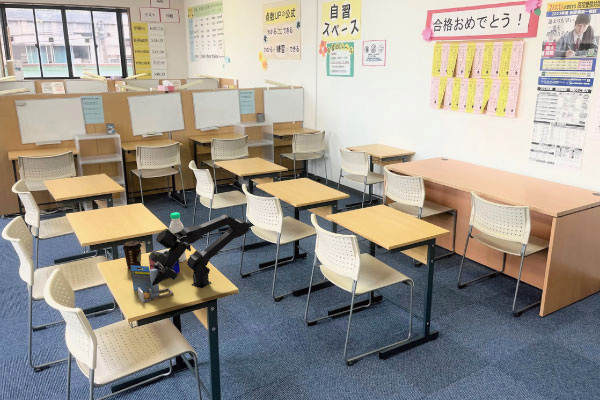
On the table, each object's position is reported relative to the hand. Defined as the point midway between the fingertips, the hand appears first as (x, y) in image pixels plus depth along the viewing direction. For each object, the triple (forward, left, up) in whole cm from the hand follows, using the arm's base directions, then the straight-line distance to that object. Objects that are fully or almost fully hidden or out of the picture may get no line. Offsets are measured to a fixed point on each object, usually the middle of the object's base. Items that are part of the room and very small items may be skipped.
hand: (151, 283), depth 204 cm
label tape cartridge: (+9, -3, -7) cm, 12 cm away
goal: (+1, +3, -7) cm, 7 cm away
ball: (+1, +2, -4) cm, 4 cm away
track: (-1, -3, -7) cm, 7 cm away
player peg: (-1, -1, -6) cm, 6 cm away
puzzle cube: (+14, -20, -7) cm, 25 cm away
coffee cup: (+32, -17, -7) cm, 37 cm away
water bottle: (+20, -35, -7) cm, 41 cm away
